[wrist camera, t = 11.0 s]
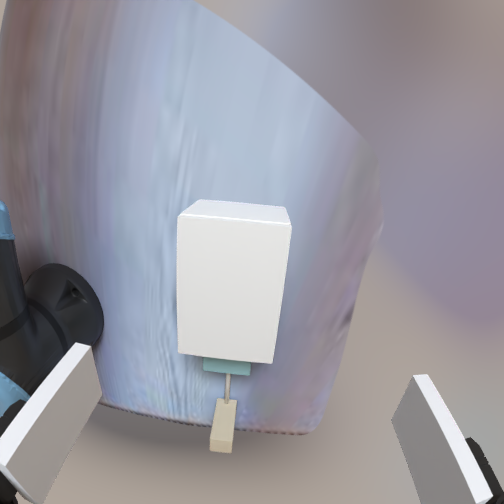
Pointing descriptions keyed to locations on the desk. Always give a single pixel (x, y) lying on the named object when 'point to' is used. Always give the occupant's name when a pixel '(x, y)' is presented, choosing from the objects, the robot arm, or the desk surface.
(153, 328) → the desk surface
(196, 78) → the desk surface
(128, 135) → the desk surface
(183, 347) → the white open box
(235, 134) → the desk surface
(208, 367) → the tethered block
